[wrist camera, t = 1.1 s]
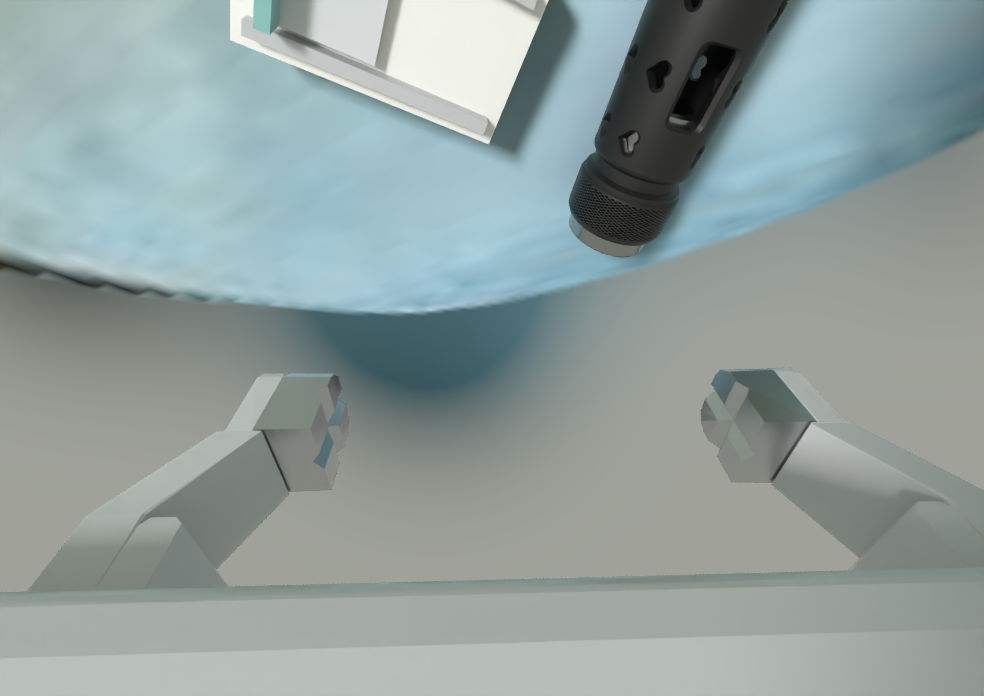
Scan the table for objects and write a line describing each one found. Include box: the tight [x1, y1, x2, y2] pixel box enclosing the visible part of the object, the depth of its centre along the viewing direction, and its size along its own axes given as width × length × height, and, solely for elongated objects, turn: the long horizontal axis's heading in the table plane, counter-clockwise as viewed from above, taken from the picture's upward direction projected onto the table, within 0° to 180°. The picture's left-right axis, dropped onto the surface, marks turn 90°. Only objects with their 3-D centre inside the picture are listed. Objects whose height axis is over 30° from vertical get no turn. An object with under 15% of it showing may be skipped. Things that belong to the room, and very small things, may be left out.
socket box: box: [230, 0, 549, 144], centre depth 32 cm, size 12×20×6 cm, turn 67°
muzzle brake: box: [569, 0, 789, 257], centre depth 36 cm, size 10×28×10 cm, turn 168°
